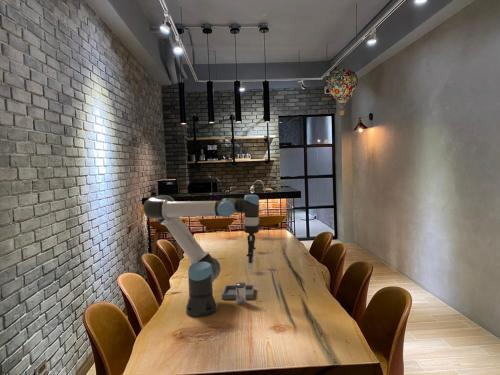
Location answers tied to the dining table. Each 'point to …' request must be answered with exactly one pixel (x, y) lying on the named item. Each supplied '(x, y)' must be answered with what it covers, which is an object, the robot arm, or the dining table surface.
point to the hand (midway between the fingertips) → (251, 265)
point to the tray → (231, 292)
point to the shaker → (240, 293)
